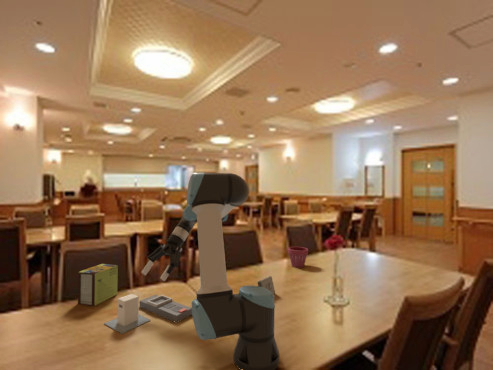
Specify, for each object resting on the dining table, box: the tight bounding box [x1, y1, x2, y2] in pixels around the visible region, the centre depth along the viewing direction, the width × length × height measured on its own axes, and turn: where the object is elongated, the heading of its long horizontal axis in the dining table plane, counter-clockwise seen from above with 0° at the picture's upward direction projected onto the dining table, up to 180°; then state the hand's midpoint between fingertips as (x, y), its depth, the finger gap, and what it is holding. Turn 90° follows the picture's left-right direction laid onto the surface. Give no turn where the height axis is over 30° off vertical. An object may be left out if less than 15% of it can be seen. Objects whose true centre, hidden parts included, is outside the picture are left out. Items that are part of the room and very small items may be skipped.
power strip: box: [139, 294, 192, 323], centre depth 125 cm, size 26×9×4 cm, turn 55°
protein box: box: [77, 263, 119, 307], centre depth 138 cm, size 10×15×16 cm
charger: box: [116, 293, 140, 326], centre depth 114 cm, size 5×7×10 cm
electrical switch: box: [257, 275, 276, 295], centre depth 145 cm, size 9×5×9 cm, turn 141°
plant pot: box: [287, 246, 309, 269], centre depth 199 cm, size 14×14×13 cm
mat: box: [104, 313, 151, 335], centre depth 114 cm, size 13×13×1 cm
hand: (152, 276), depth 124 cm, fingers open, 13 cm apart
